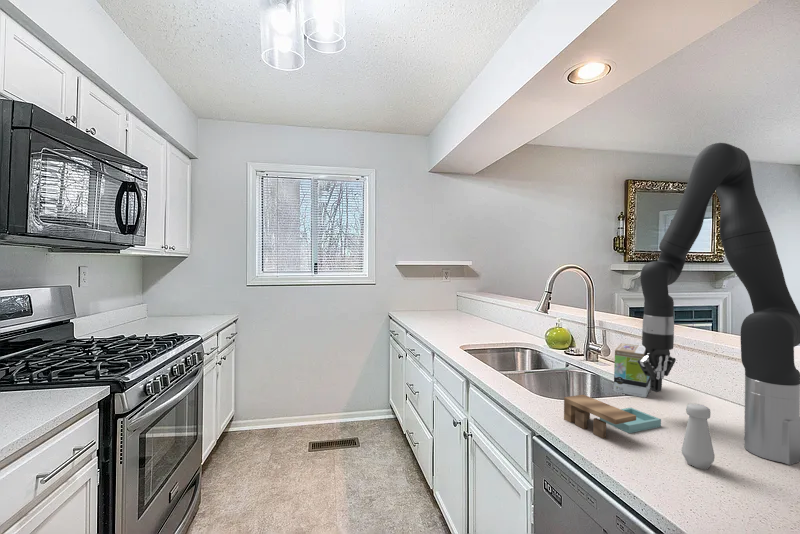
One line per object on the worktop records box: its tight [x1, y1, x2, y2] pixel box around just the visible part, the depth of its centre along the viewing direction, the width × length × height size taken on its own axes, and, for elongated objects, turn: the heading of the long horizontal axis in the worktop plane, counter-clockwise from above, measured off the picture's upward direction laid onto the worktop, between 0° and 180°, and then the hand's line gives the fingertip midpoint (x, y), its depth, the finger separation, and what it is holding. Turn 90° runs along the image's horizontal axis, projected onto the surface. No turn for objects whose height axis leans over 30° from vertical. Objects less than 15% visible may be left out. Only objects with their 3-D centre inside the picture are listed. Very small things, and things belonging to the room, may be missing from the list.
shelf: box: [563, 394, 636, 440], centre depth 102 cm, size 16×7×6 cm, turn 21°
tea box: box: [613, 343, 651, 399], centre depth 135 cm, size 15×10×15 cm, turn 143°
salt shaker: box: [681, 403, 715, 470], centre depth 84 cm, size 6×6×13 cm
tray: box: [599, 407, 662, 434], centre depth 106 cm, size 9×12×2 cm
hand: (655, 390), depth 111 cm, fingers closed
